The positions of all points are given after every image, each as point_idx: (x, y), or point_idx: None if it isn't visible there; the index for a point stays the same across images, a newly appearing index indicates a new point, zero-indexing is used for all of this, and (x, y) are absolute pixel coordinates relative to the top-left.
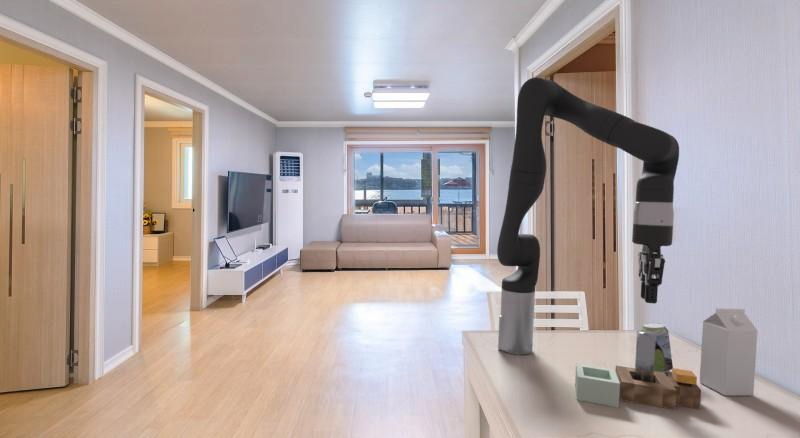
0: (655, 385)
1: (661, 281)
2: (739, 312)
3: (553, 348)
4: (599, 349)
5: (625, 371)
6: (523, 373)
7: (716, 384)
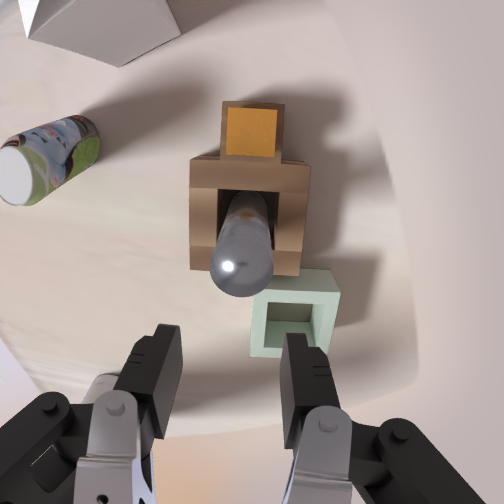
0: (295, 206)
1: (425, 437)
2: None
3: (69, 336)
4: (21, 249)
5: None
6: (232, 394)
7: (156, 41)
